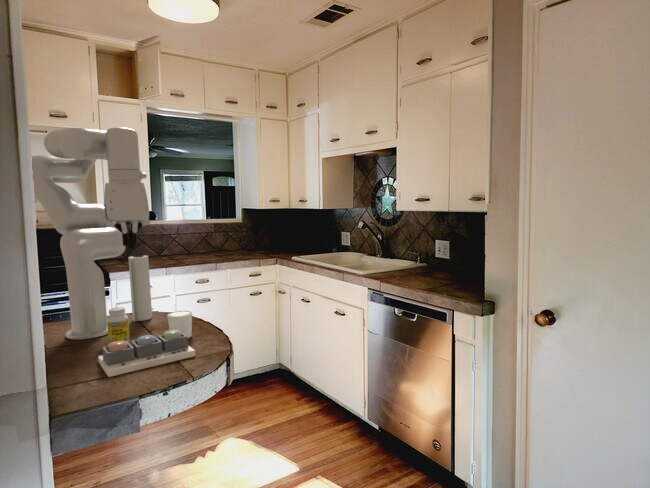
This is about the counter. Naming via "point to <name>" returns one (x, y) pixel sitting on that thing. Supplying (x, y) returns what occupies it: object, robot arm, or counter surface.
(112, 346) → the button one
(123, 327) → the supplement bottle
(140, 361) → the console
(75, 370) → the counter surface
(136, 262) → the paper towel roll
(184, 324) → the white tapered cup
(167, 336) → the button three
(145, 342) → the button two
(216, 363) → the counter surface
